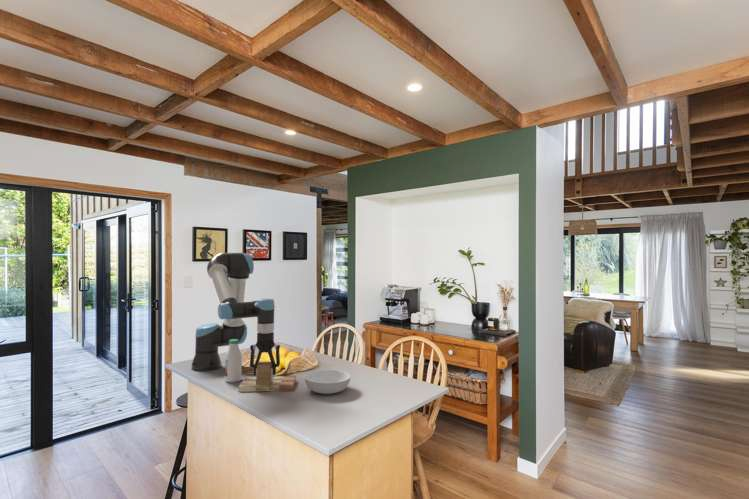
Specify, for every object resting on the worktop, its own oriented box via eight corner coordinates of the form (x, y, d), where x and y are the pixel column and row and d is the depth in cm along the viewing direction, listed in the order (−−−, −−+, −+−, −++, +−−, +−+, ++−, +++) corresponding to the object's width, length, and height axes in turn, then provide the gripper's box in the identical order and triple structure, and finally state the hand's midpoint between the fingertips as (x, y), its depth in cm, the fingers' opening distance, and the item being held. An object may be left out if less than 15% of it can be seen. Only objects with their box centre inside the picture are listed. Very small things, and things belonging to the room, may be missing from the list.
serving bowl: (343, 400, 166) (343, 384, 166) (297, 396, 170) (297, 381, 170) (355, 385, 186) (355, 371, 186) (313, 382, 190) (314, 368, 190)
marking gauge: (259, 384, 183) (259, 361, 183) (272, 384, 183) (272, 361, 184) (255, 390, 175) (256, 366, 175) (269, 390, 175) (269, 366, 176)
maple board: (246, 382, 189) (246, 376, 189) (295, 381, 191) (295, 376, 192) (238, 391, 175) (238, 386, 175) (292, 390, 178) (292, 385, 178)
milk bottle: (244, 378, 195) (244, 338, 196) (237, 383, 187) (237, 341, 188) (229, 377, 196) (230, 338, 196) (221, 382, 188) (222, 341, 189)
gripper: (242, 333, 176) (241, 384, 176) (285, 333, 178) (284, 384, 177) (246, 330, 184) (245, 379, 183) (287, 330, 185) (286, 379, 185)
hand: (264, 381), depth 180 cm, fingers closed on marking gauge, 6 cm apart
